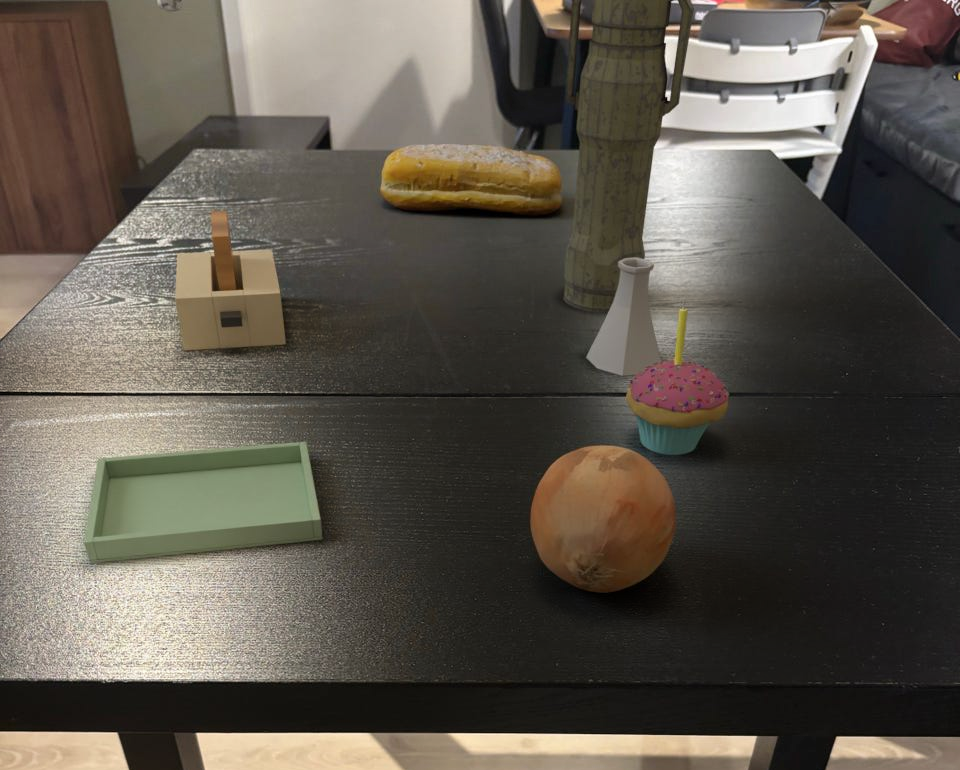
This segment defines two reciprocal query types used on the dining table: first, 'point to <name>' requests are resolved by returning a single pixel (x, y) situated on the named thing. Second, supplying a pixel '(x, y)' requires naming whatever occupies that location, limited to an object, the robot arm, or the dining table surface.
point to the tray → (201, 502)
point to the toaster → (229, 302)
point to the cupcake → (676, 400)
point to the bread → (470, 179)
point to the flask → (627, 324)
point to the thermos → (617, 137)
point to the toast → (223, 251)
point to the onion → (602, 518)
